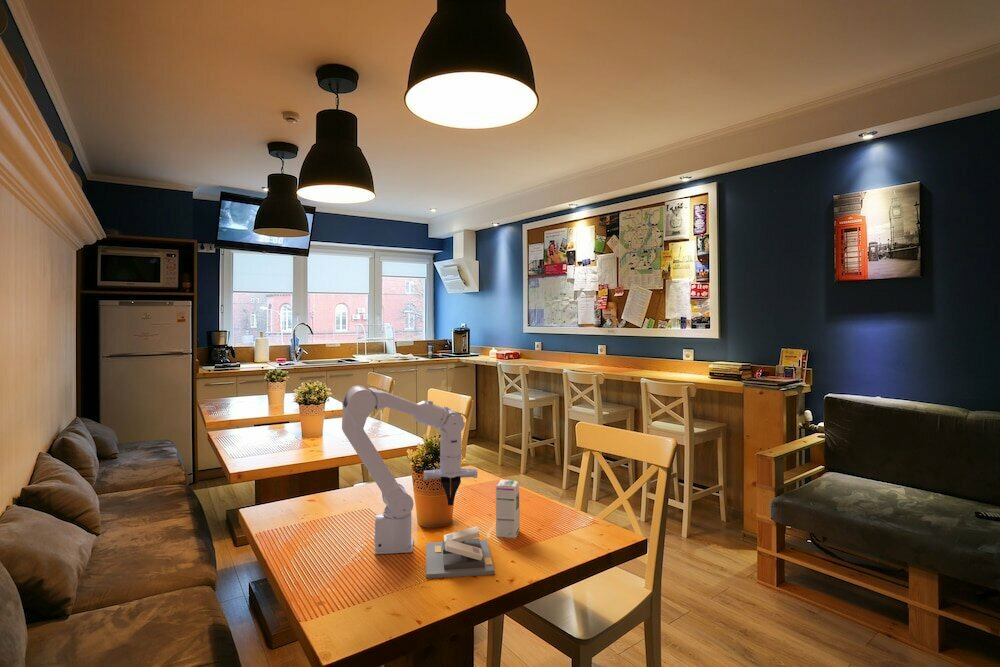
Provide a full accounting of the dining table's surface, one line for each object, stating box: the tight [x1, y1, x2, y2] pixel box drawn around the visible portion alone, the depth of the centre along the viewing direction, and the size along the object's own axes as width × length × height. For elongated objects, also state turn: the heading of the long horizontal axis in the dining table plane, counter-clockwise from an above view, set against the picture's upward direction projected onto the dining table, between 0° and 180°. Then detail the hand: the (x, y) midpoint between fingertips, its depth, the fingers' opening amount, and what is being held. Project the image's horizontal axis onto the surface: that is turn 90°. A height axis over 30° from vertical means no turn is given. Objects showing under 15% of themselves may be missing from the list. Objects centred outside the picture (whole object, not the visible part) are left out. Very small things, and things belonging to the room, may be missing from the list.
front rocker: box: [445, 539, 483, 561], centre depth 127 cm, size 9×4×1 cm, turn 99°
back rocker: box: [443, 525, 481, 543], centre depth 135 cm, size 9×4×1 cm, turn 97°
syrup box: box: [495, 479, 521, 539], centre depth 147 cm, size 6×6×14 cm
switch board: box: [425, 537, 496, 580], centre depth 131 cm, size 16×17×3 cm
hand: (450, 504), depth 143 cm, fingers closed
